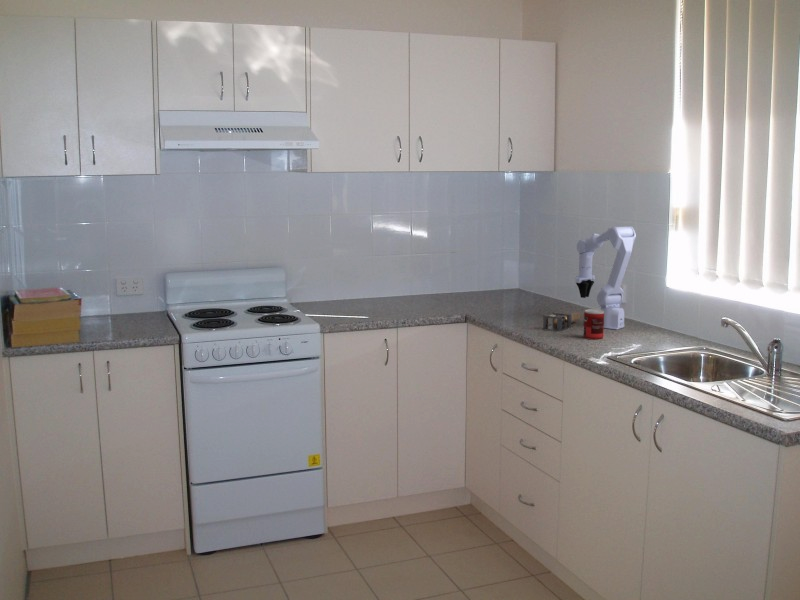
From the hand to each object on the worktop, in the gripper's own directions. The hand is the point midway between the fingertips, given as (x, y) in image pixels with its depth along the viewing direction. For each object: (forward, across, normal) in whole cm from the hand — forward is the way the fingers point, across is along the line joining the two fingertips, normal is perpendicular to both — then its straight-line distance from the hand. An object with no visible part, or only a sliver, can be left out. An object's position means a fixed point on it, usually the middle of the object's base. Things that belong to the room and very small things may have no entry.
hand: (584, 297), depth 369 cm
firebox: (+10, +24, 0) cm, 26 cm away
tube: (+10, +15, 0) cm, 18 cm away
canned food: (+11, +32, +21) cm, 40 cm away
